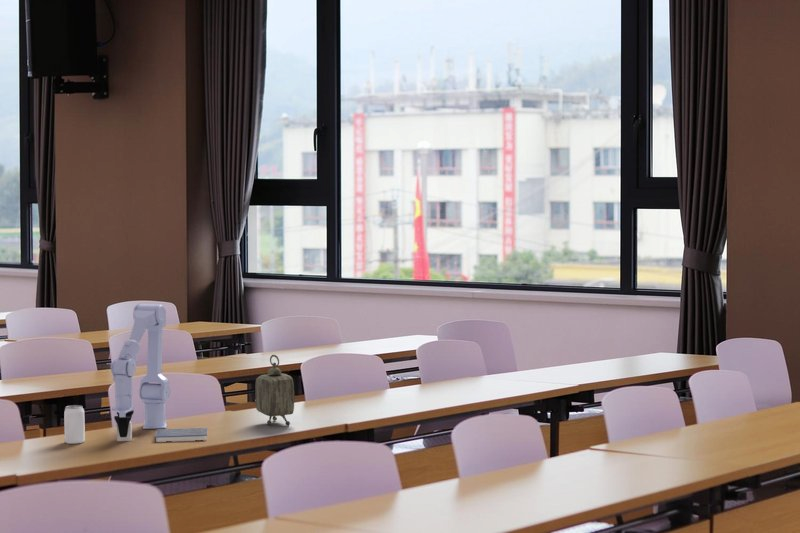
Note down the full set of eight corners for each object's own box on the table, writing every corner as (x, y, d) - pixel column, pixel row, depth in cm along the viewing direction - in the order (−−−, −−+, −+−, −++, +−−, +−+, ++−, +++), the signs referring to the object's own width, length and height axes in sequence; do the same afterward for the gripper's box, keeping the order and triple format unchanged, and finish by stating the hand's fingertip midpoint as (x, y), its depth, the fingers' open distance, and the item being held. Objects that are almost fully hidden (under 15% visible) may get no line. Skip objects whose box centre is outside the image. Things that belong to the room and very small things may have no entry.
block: (118, 438, 397) (117, 420, 396) (131, 438, 398) (131, 420, 397) (117, 441, 392) (116, 423, 392) (130, 440, 393) (130, 423, 393)
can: (79, 444, 387) (78, 408, 386) (61, 443, 388) (60, 408, 387) (88, 440, 393) (87, 405, 392) (70, 439, 394) (69, 404, 394)
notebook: (157, 436, 403) (157, 429, 402) (207, 434, 405) (207, 427, 405) (155, 443, 391) (155, 436, 391) (207, 442, 393) (206, 434, 393)
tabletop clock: (294, 426, 417) (294, 356, 415) (271, 429, 412) (270, 358, 410) (276, 419, 429) (276, 351, 427) (254, 422, 424) (253, 353, 423)
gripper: (113, 391, 401) (114, 430, 401) (109, 398, 386) (110, 439, 387) (134, 390, 402) (135, 430, 402) (131, 398, 387) (132, 438, 388)
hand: (124, 434), depth 395 cm, fingers open, 7 cm apart
